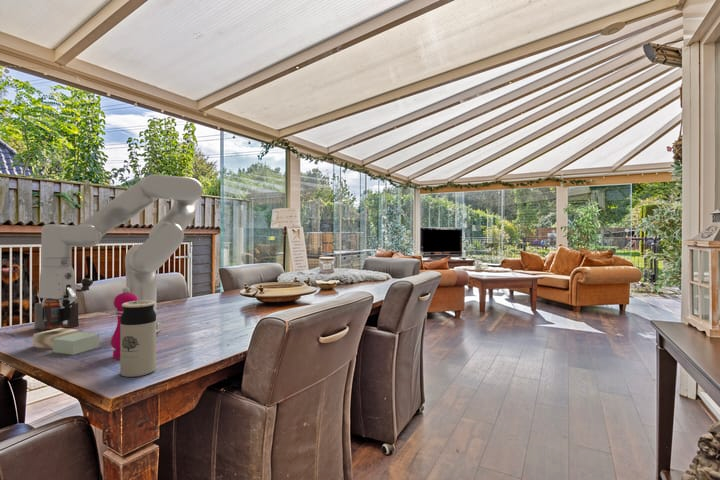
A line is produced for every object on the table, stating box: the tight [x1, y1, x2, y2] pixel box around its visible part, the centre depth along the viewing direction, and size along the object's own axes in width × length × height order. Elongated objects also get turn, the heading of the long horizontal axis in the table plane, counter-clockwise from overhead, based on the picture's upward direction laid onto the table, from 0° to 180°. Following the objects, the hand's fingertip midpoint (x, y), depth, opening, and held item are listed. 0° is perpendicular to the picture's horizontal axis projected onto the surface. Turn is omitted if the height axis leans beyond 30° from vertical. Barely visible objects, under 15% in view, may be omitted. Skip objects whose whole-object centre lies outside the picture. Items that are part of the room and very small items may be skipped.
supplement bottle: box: [44, 297, 68, 329], centre depth 120 cm, size 6×6×11 cm
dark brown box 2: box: [33, 277, 94, 332], centre depth 143 cm, size 16×11×18 cm
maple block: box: [33, 328, 80, 350], centre depth 120 cm, size 8×8×4 cm
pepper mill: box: [110, 287, 138, 360], centre depth 110 cm, size 7×7×20 cm
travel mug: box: [119, 300, 157, 378], centre depth 97 cm, size 8×8×18 cm
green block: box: [52, 331, 100, 356], centre depth 115 cm, size 8×8×4 cm
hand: (56, 319), depth 120 cm, fingers closed on supplement bottle, 6 cm apart
